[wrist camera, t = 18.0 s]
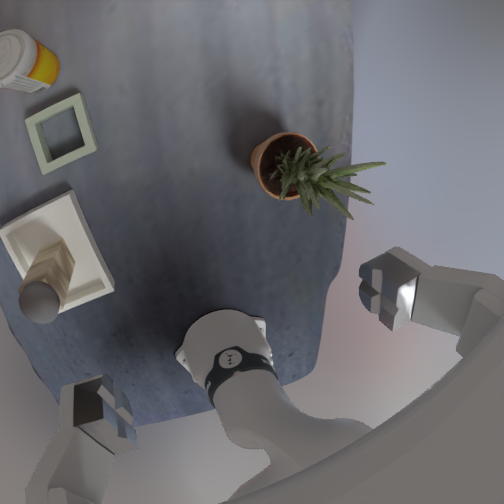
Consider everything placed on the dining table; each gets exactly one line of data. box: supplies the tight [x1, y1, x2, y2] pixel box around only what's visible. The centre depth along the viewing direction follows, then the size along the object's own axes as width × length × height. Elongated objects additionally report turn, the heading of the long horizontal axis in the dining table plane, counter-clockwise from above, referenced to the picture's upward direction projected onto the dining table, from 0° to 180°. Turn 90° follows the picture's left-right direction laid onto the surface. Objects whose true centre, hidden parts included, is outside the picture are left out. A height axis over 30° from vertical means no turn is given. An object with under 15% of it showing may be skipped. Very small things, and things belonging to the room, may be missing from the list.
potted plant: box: [250, 132, 387, 220], centre depth 36 cm, size 10×10×25 cm
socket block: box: [25, 93, 99, 175], centre depth 32 cm, size 8×8×3 cm
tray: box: [0, 189, 115, 314], centre depth 38 cm, size 16×13×3 cm
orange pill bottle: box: [0, 29, 60, 93], centre depth 21 cm, size 6×6×15 cm
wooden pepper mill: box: [18, 238, 75, 324], centre depth 33 cm, size 5×5×13 cm
